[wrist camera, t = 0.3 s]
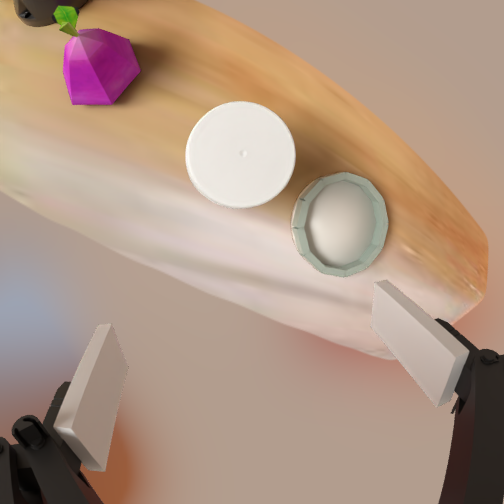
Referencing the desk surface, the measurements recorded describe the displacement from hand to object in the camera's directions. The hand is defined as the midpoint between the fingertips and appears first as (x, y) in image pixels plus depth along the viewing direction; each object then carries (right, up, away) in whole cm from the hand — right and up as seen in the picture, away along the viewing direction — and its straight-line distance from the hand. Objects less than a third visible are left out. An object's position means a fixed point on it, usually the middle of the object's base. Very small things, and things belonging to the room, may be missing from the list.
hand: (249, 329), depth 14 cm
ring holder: (+12, +8, +29) cm, 32 cm away
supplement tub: (-4, +15, +24) cm, 29 cm away
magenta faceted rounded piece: (-20, +28, +18) cm, 39 cm away
